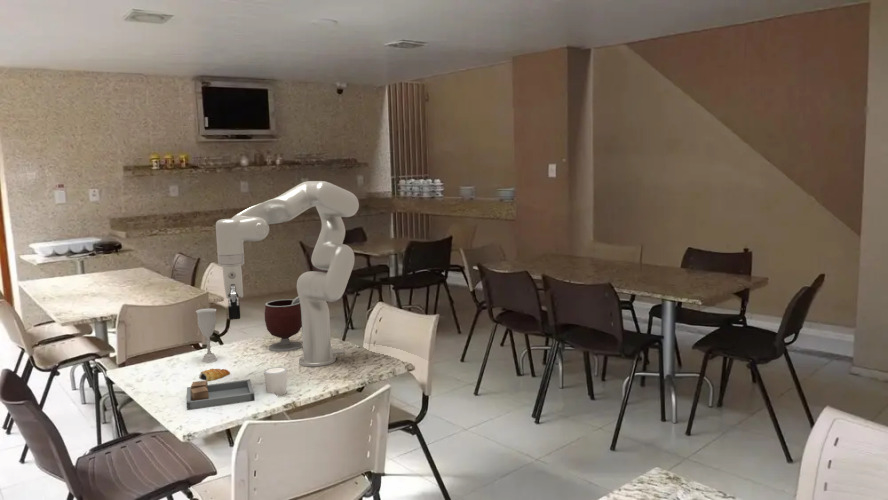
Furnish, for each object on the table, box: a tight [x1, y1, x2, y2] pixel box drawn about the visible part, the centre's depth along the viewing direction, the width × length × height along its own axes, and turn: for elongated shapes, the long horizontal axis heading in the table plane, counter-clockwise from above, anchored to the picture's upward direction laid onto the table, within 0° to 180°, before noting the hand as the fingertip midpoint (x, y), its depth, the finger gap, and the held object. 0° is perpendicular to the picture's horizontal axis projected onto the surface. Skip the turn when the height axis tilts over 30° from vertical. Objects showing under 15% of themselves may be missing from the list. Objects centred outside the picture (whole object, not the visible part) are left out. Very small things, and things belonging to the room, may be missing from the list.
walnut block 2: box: [191, 387, 209, 401], centre depth 185 cm, size 4×4×4 cm
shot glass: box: [263, 366, 288, 397], centre depth 195 cm, size 7×7×7 cm
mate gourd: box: [264, 296, 303, 353], centre depth 245 cm, size 16×14×20 cm
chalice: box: [195, 308, 218, 363], centre depth 230 cm, size 7×7×18 cm
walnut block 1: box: [190, 380, 209, 389], centre depth 191 cm, size 4×4×4 cm
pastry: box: [198, 368, 231, 382], centre depth 210 cm, size 9×7×4 cm
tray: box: [186, 379, 255, 411], centre depth 190 cm, size 18×14×3 cm
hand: (234, 315), depth 198 cm, fingers open, 9 cm apart
